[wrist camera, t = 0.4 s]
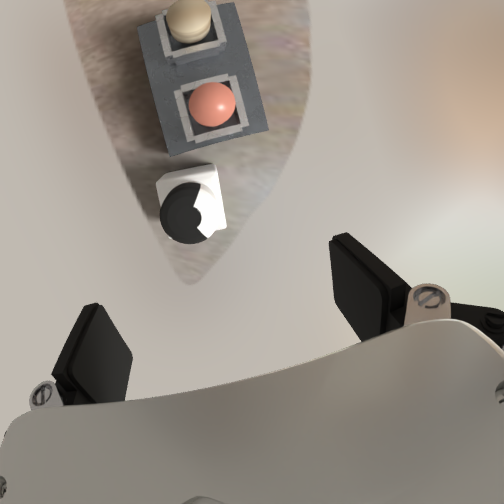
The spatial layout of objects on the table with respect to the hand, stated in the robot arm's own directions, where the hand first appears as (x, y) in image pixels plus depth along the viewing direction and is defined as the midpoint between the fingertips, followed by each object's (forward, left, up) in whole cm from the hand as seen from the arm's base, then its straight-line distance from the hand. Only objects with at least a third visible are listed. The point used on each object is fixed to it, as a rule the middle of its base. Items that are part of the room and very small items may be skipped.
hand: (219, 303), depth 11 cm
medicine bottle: (+1, -3, -30) cm, 30 cm away
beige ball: (-19, +2, -21) cm, 28 cm away
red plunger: (-9, +2, -21) cm, 23 cm away
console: (-14, +2, -30) cm, 33 cm away
